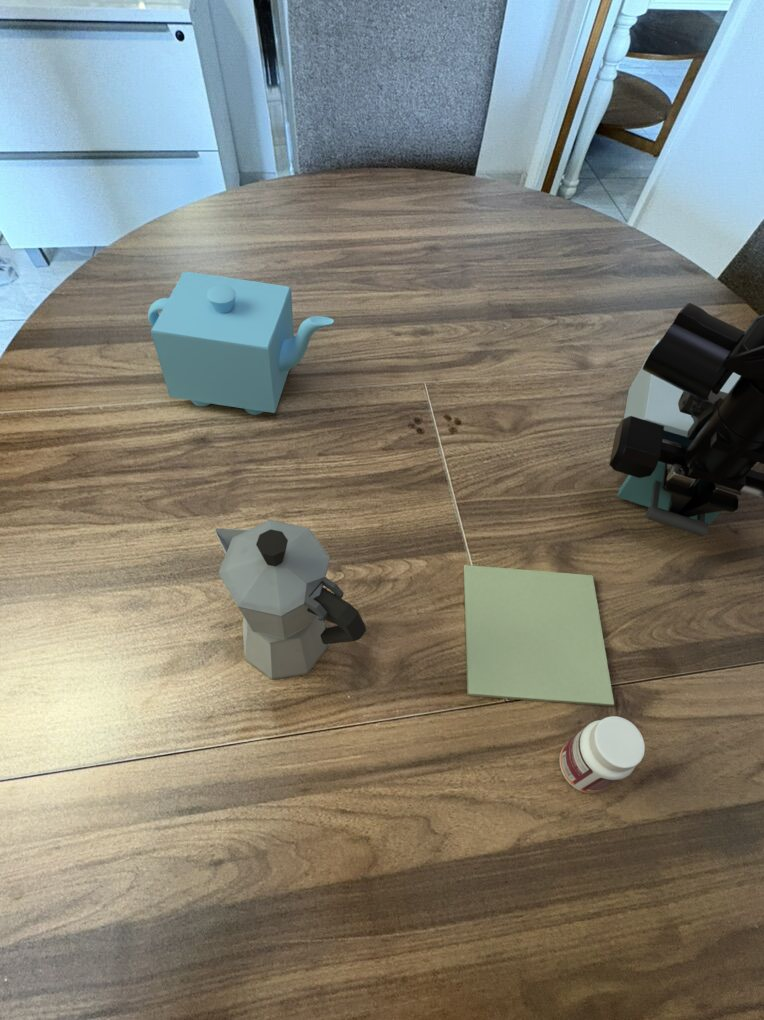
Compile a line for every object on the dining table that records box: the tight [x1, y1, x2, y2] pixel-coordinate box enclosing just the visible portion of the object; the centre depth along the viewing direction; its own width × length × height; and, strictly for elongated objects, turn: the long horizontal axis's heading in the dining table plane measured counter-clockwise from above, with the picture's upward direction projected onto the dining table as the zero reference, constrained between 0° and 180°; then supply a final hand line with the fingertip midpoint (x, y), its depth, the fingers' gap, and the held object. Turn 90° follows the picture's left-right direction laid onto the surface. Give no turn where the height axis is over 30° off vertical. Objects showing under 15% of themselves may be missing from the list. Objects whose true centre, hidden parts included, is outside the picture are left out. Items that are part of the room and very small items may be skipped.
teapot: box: [147, 270, 335, 415], centre depth 74 cm, size 22×11×14 cm, turn 82°
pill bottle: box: [558, 715, 646, 794], centre depth 52 cm, size 5×5×8 cm
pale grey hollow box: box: [623, 339, 740, 437], centre depth 76 cm, size 15×12×9 cm
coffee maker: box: [214, 519, 367, 681], centre depth 53 cm, size 15×9×18 cm, turn 56°
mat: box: [463, 564, 615, 707], centre depth 62 cm, size 14×14×1 cm
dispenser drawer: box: [617, 430, 723, 537], centre depth 71 cm, size 19×11×7 cm, turn 160°
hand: (670, 516), depth 68 cm, fingers closed
